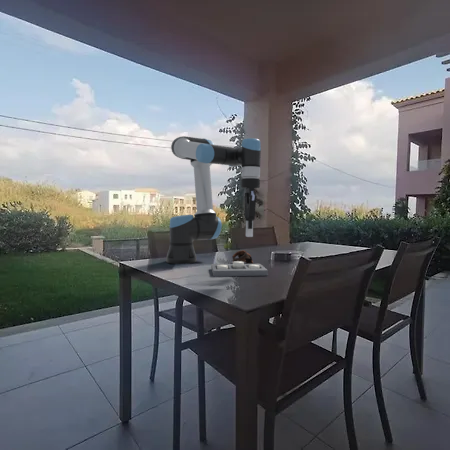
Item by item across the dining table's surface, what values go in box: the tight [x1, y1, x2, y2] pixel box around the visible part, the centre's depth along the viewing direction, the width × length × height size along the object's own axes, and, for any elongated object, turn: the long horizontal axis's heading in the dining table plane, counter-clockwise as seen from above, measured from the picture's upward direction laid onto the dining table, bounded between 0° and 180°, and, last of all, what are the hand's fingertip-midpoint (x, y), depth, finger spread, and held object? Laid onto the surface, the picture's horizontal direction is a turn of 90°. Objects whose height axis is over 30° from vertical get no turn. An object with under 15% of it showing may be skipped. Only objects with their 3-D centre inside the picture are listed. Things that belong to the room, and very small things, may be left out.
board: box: [210, 263, 269, 277], centre depth 123 cm, size 14×21×3 cm, turn 96°
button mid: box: [232, 261, 245, 269], centre depth 123 cm, size 4×4×2 cm
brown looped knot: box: [231, 250, 254, 264], centre depth 144 cm, size 12×10×8 cm
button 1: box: [217, 265, 228, 269], centre depth 122 cm, size 4×4×2 cm
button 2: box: [249, 265, 260, 269], centre depth 124 cm, size 4×4×2 cm
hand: (249, 236), depth 124 cm, fingers closed
